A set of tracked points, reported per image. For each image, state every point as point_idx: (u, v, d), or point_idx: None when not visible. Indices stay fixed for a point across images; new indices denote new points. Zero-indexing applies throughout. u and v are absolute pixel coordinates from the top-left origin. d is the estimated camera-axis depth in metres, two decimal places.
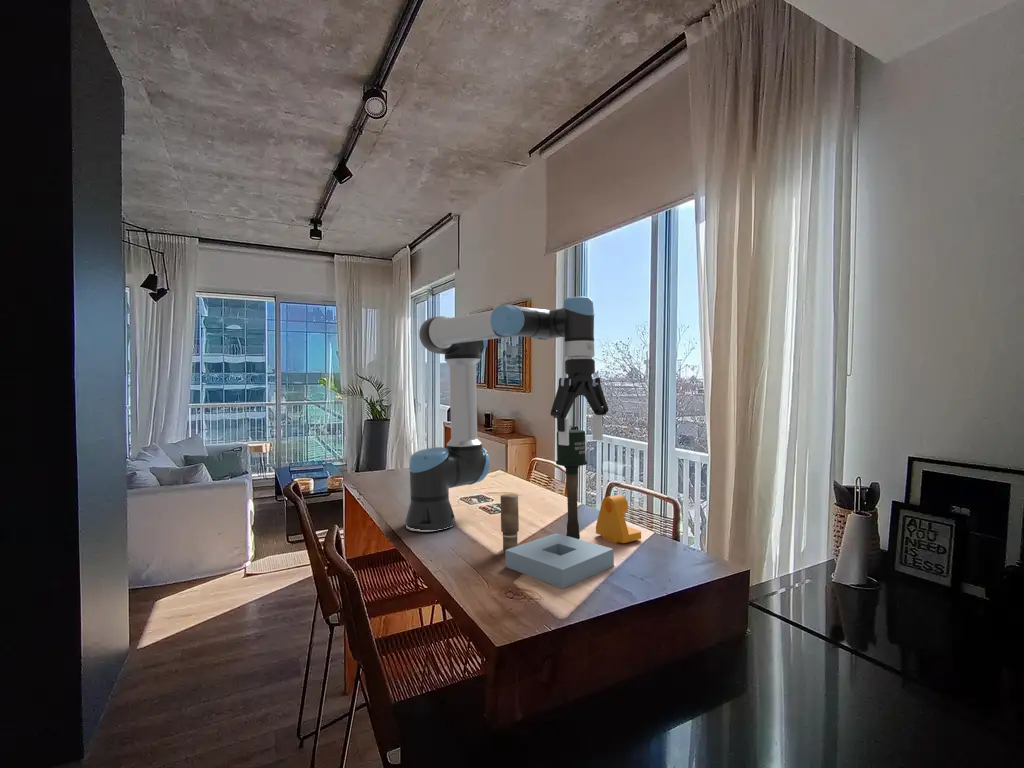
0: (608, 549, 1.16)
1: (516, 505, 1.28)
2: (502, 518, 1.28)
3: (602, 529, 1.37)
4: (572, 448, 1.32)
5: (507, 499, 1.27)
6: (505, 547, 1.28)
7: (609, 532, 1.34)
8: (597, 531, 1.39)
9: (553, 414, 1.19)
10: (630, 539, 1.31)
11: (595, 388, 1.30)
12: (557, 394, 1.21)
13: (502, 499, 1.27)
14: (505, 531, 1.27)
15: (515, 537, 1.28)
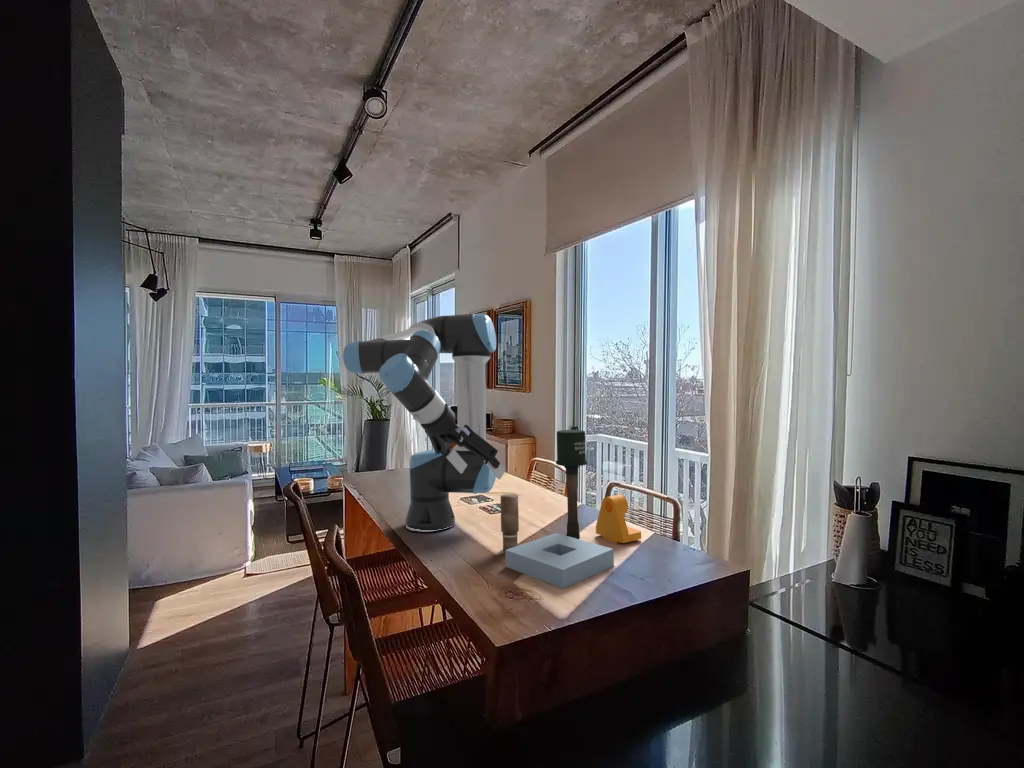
0: (608, 549, 1.16)
1: (516, 505, 1.28)
2: (502, 518, 1.28)
3: (602, 529, 1.37)
4: (572, 448, 1.32)
5: (507, 499, 1.27)
6: (505, 547, 1.28)
7: (609, 532, 1.34)
8: (597, 531, 1.39)
9: None
10: (630, 539, 1.31)
11: None
12: None
13: (502, 499, 1.27)
14: (505, 531, 1.27)
15: (515, 537, 1.28)
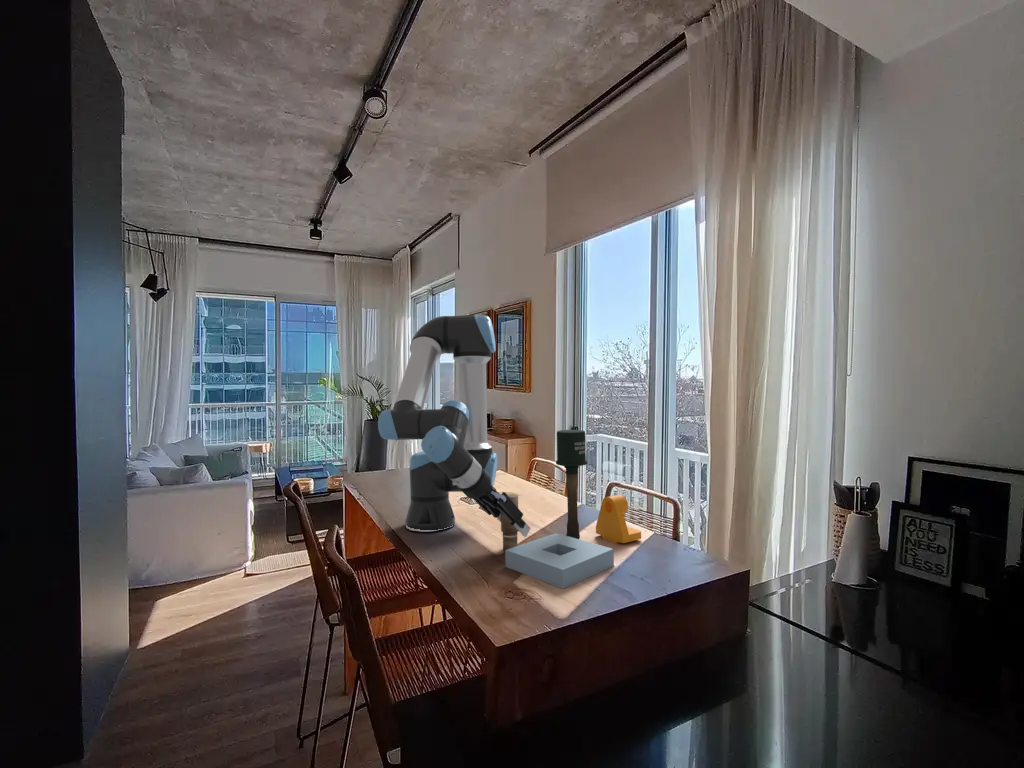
0: (608, 549, 1.16)
1: (516, 505, 1.28)
2: (502, 518, 1.28)
3: (602, 529, 1.37)
4: (572, 448, 1.32)
5: None
6: (505, 547, 1.28)
7: (609, 532, 1.34)
8: (597, 531, 1.39)
9: None
10: (630, 539, 1.31)
11: None
12: None
13: None
14: (505, 531, 1.27)
15: (515, 537, 1.28)
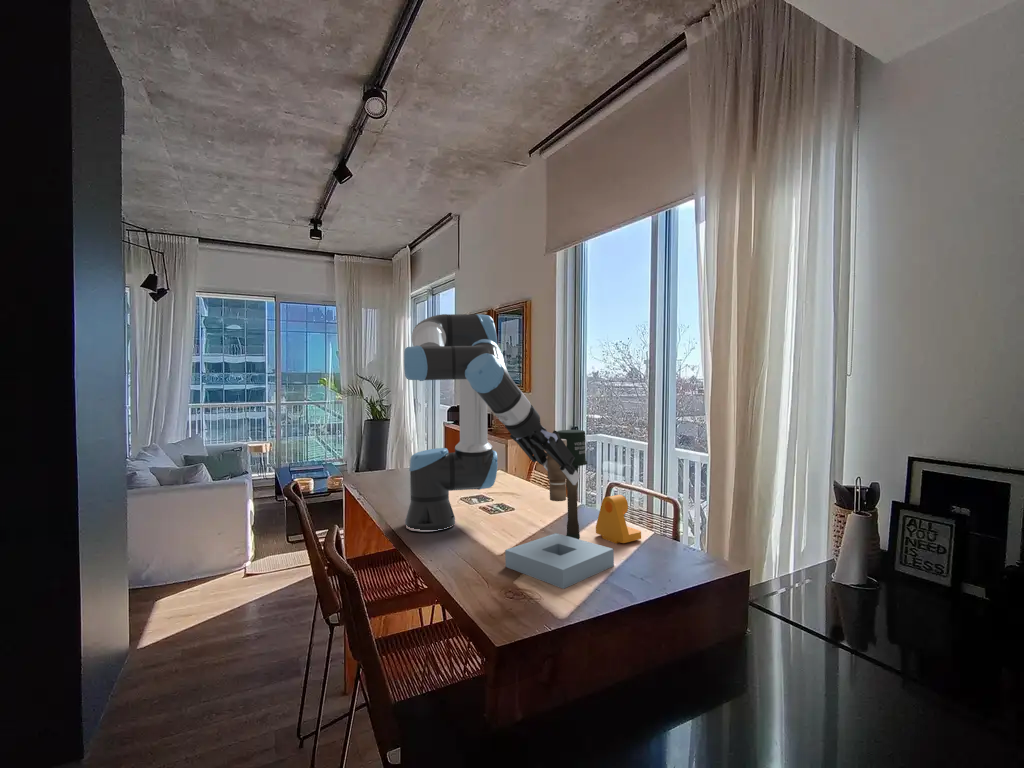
0: (608, 549, 1.16)
1: None
2: (549, 464, 1.15)
3: (602, 529, 1.37)
4: (572, 448, 1.32)
5: None
6: (552, 496, 1.15)
7: (609, 532, 1.34)
8: (597, 531, 1.39)
9: None
10: (630, 539, 1.31)
11: None
12: None
13: None
14: (553, 478, 1.14)
15: (564, 485, 1.15)
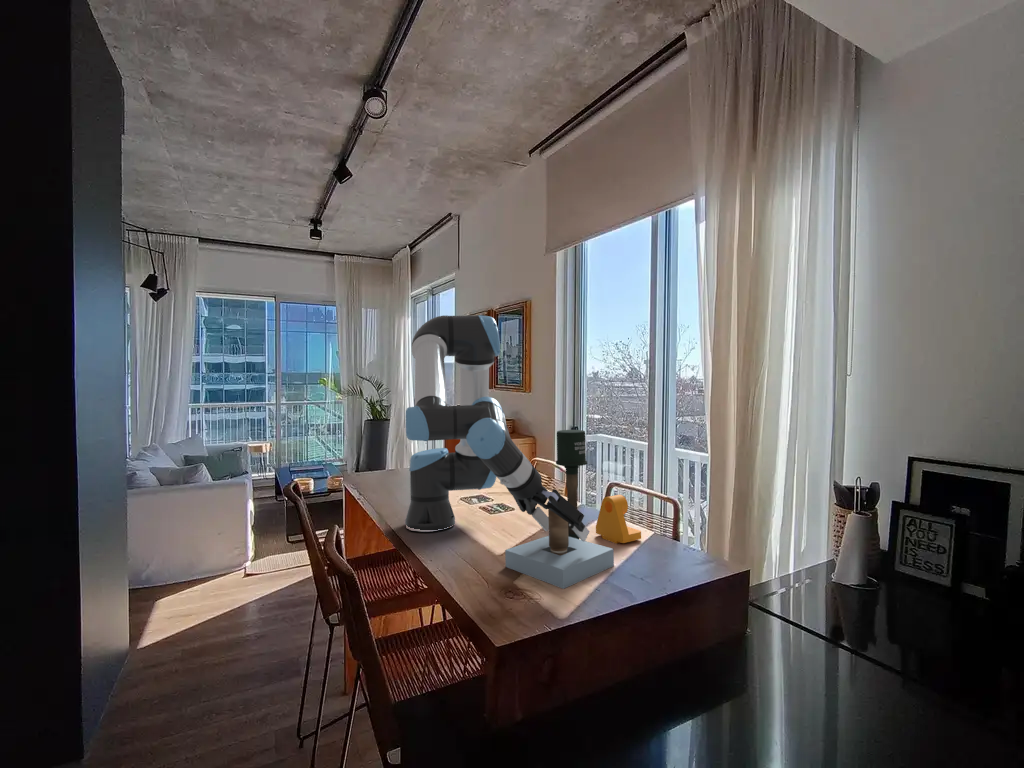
0: (608, 549, 1.16)
1: None
2: (551, 532, 1.15)
3: (602, 529, 1.37)
4: (572, 448, 1.32)
5: None
6: None
7: (609, 532, 1.34)
8: (597, 531, 1.39)
9: None
10: (630, 539, 1.31)
11: None
12: None
13: (551, 511, 1.15)
14: (554, 546, 1.14)
15: (565, 553, 1.15)
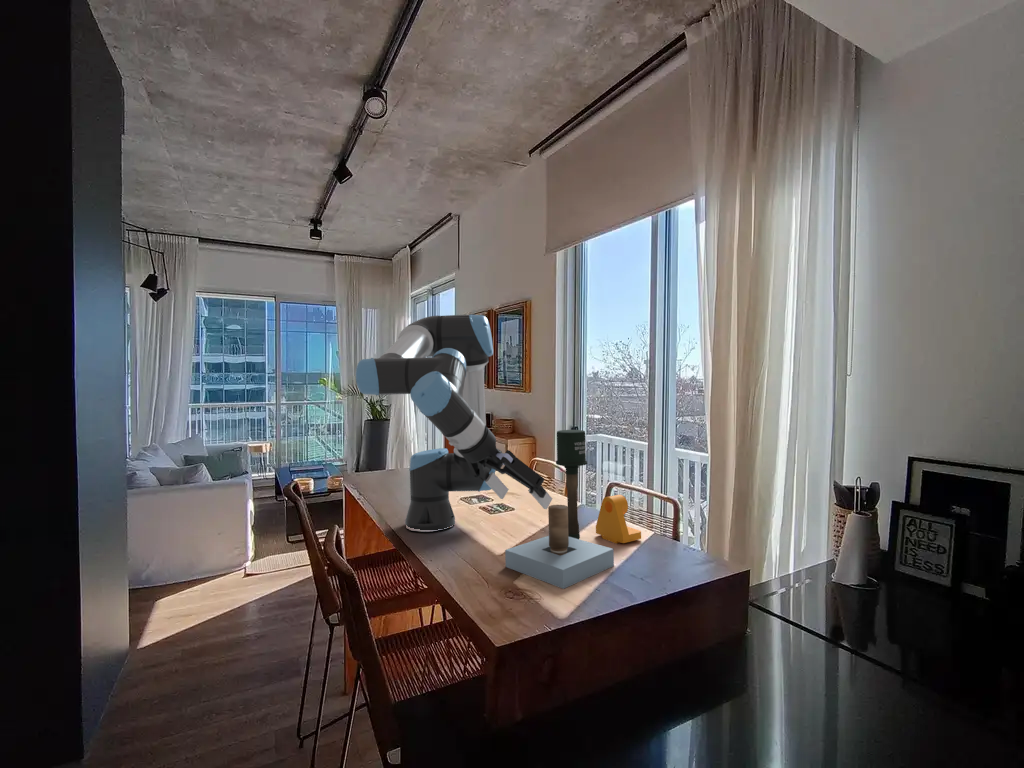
0: (608, 549, 1.16)
1: (566, 517, 1.15)
2: (551, 532, 1.15)
3: (602, 529, 1.37)
4: (572, 448, 1.32)
5: (557, 511, 1.14)
6: None
7: (609, 532, 1.34)
8: (597, 531, 1.39)
9: None
10: (630, 539, 1.31)
11: None
12: None
13: (551, 510, 1.15)
14: (554, 546, 1.14)
15: (565, 553, 1.15)
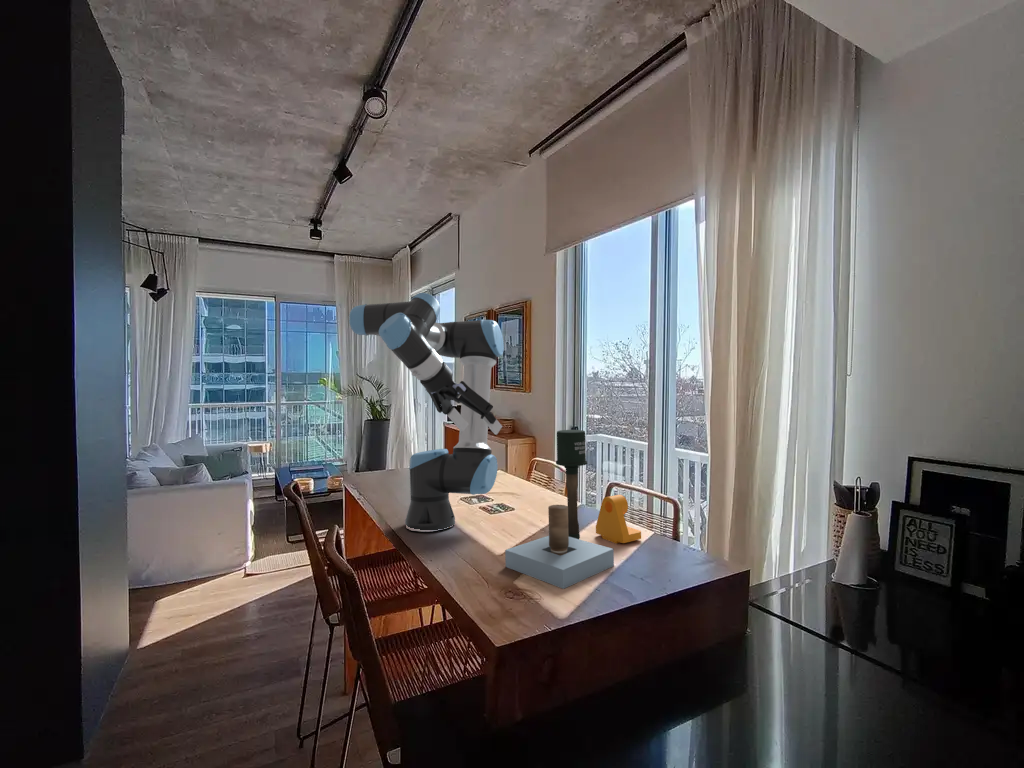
0: (608, 549, 1.16)
1: (566, 517, 1.15)
2: (551, 532, 1.15)
3: (602, 529, 1.37)
4: (572, 448, 1.32)
5: (557, 511, 1.14)
6: None
7: (609, 532, 1.34)
8: (597, 531, 1.39)
9: None
10: (630, 539, 1.31)
11: None
12: None
13: (551, 510, 1.15)
14: (554, 546, 1.14)
15: (565, 553, 1.15)
